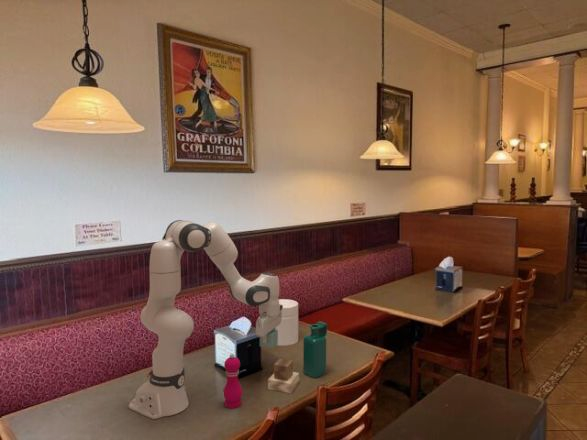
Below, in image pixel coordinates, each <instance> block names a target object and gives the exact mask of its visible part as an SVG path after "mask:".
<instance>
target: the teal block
mask: <svg viewBox="0 0 587 440" xmlns="http://www.w3.org/2000/svg"><path fill="white" fill-rule="evenodd" d="M266 337H267V339H268V342H267V343H266V344H265V343H263V339H262V337H259V347H263V348H268V349H274V347H276V346H277V345H276V344H278V330H272V331H270V332H269V333H268V334H267V336H266Z"/></svg>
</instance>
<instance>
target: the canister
mask: <svg viewBox="0 0 587 440" xmlns="http://www.w3.org/2000/svg"><path fill="white" fill-rule="evenodd" d="M278 299H279V298H278ZM279 304H281V305H283V309H282V320H281V323H280V324H279V325H278V326H277V327H276V330H278V344H276V345H275V346H281V347H282V346H284V347H285V346H292V345H294V344H297V342H298V341H299V302H297V301H296V300H294V299H289V298H288V299H287V298H286V299H285V298H281V299H279Z"/></svg>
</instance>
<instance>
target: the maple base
mask: <svg viewBox="0 0 587 440" xmlns="http://www.w3.org/2000/svg"><path fill="white" fill-rule="evenodd" d="M299 383H300V373H299V372H295V371H293V375H292V376H291V377H290V379H289V380H288V381H286V380H280V379H275V378H274V373H273V374H272V375H271V376H270V377H269V378H268V379H267V389H268V390H271V391H276V392H282V393H286V394H292V392H293V391H294V390H295V388H296V387H297V386H298V384H299Z"/></svg>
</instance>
